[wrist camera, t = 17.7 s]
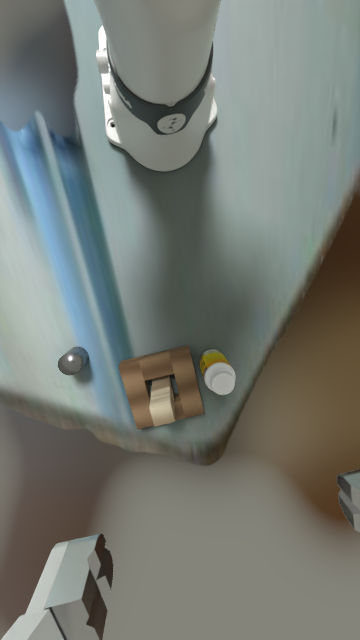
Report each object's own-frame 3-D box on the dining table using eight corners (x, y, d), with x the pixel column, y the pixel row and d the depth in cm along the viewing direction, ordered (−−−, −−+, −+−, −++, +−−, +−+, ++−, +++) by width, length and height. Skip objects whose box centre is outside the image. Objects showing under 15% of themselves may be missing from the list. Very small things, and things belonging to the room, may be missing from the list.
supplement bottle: (196, 350, 48) (204, 371, 38) (223, 346, 48) (238, 366, 38) (200, 375, 49) (209, 402, 39) (226, 371, 49) (241, 396, 39)
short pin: (65, 349, 46) (54, 357, 42) (85, 344, 46) (76, 352, 42) (71, 367, 47) (62, 377, 43) (91, 363, 47) (83, 372, 43)
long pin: (152, 378, 49) (149, 408, 38) (169, 374, 49) (170, 403, 38) (156, 393, 49) (154, 426, 39) (173, 389, 49) (175, 421, 39)
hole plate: (121, 360, 47) (118, 366, 45) (188, 345, 48) (189, 349, 45) (139, 420, 50) (137, 429, 47) (202, 405, 51) (204, 413, 48)
